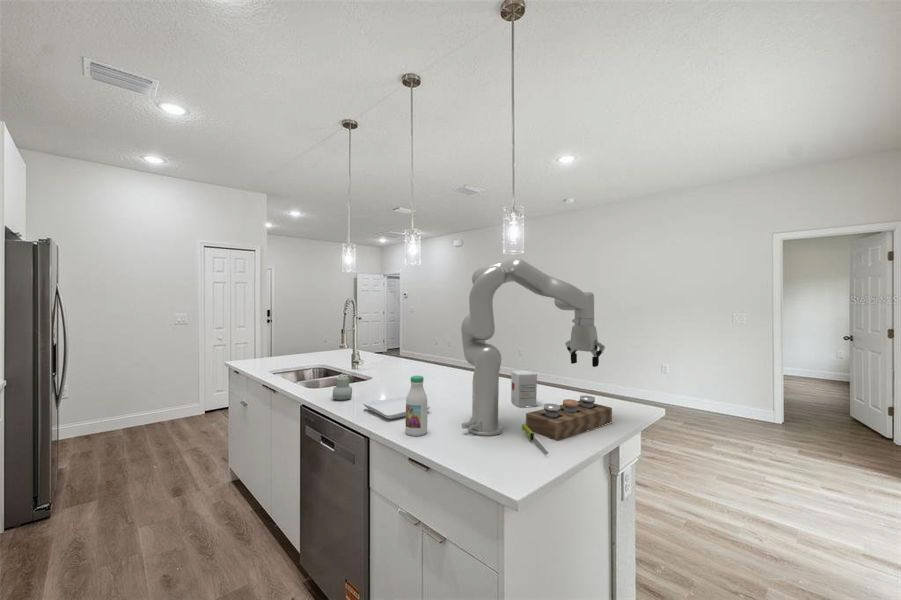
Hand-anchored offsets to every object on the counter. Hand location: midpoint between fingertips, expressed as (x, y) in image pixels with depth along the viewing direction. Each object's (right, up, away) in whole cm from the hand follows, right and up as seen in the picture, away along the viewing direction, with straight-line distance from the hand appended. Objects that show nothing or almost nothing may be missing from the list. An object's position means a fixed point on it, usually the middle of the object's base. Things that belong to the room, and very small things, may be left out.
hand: (584, 364), depth 155 cm
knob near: (-17, -18, -16) cm, 30 cm away
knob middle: (-9, -18, -9) cm, 22 cm away
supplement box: (-21, -22, +20) cm, 37 cm away
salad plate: (-77, -22, +7) cm, 80 cm away
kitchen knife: (-26, -22, -29) cm, 45 cm away
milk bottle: (-66, -21, -19) cm, 72 cm away
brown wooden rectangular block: (-9, -22, -9) cm, 25 cm away
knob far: (0, -18, -2) cm, 19 cm away
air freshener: (-106, -21, +27) cm, 111 cm away
